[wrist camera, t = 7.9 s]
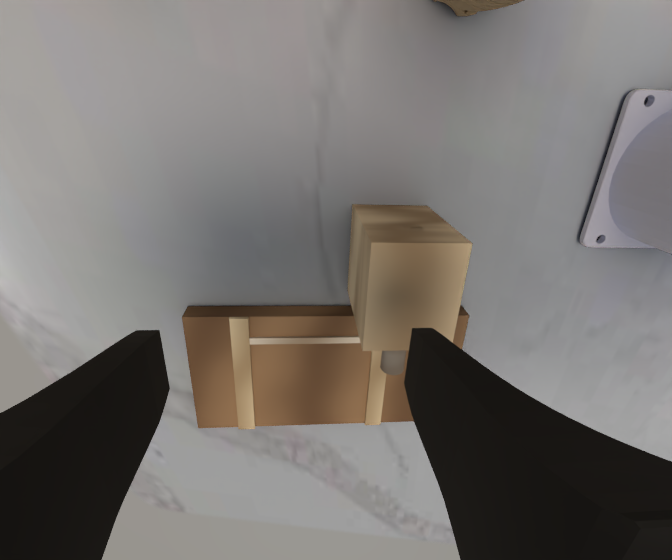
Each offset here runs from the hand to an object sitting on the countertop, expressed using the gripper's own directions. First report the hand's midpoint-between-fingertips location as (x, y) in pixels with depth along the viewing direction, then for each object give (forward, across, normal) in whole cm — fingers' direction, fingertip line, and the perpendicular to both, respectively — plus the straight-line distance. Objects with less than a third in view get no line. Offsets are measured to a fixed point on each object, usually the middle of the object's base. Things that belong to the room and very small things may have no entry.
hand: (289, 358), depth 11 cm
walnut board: (+10, -2, +8) cm, 13 cm away
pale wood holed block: (+11, -5, +2) cm, 12 cm away
